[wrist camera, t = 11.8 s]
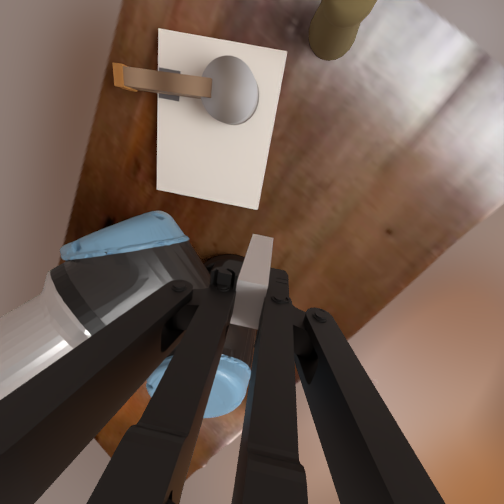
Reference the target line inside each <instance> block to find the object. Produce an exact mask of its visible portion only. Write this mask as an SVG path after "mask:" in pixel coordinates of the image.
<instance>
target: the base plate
mask: <svg viewBox="0 0 504 504" xmlns="http://www.w3.org/2000/svg"><path fill="white" fill-rule="evenodd" d="M226 55H228V56H234V57H237V58H239V59H241V60H242V61H244V62H245V63H246V64H247V65H248V67H249V68H250V69H251V71H252V73H253V75H254V78H255V80H256V82H257V85H258V88H259V102H258V106H257V109H256V111H255V113H254V114H253V116H252V117H251V118H250V119H249V120H248V121H246V122H245V123H242V124H239V125H229V124H226V123H223V122H220V121H218V120H216V119H214V118H213V117H212V116H211V115H210V114H209V113H208V112H207V111H206V109H205V107H204V105H203V103H202V100H201V99H197V98H190V97H183V96H176V95H168V94H161V93H158V114H157V190H162V191H167V192H172V193H177V194H181V195H186V196H191V197H196V198H201V199H206V200H211V201H216V202H221V203H226V204H231V205H235V206H240V207H245V208H250V209H255V210H257V209H258V206H259V200H260V195H261V190H262V184H263V179H264V174H265V168H266V163H267V158H268V153H269V147H270V142H271V137H272V131H273V126H274V121H275V115H276V110H277V105H278V99H279V94H280V89H281V84H282V78H283V73H284V68H285V62H286V57H287V51H282V50H277V49H271V48H266V47H260V46H254V45H249V44H243V43H238V42H232V41H227V40H221V39H215V38H210V37H204V36H199V35H193V34H187V33H182V32H176V31H171V30H165V29H160V28H158V71H163V72H170V73H178V74H185V75H193V76H200V77H202V74H203V72H204V70H205V68H206V67H207V66H208V64H209V63H210V62H211V61H213V60H214V59H216V58H218V57H221V56H226Z"/></svg>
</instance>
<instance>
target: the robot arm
mask: <svg viewBox="0 0 504 504" xmlns="http://www.w3.org/2000/svg"><path fill="white" fill-rule="evenodd" d="M188 240H189V238H188V236H185V235H184V233H183V232H182V231H181V229H180V228H179V226H178V225H177V224H176V222H175V221H174V220H173V218H172V217H171V216H170V215H169V214H167V213H166V212H163V211H151V212H148V213H144V214H141V215H138V216H136V217H133V218H130V219H127V220H125V221H122V222H119V223H117V224H114V225H111V226H109V227H106V228H104V229H101V230H99V231H96V232H94V233H91V234H89V235H87V236H84V237H82V238H80V239H78V240H76V241H74V242H71V243H68V244H66V245H64V246H62V247H61V248H60V253H61V258H62V259H63V260H66V262H64V263H63V264H61V265H59V266H57V267H55V268H54V269H52V270H50V271H48V273H47V276H46V280H45V284H44V288H43V291H42V292H41V294H40V295H38V296H36V297H34V298H33V299H31V300H29V301H28V302H26V303H24V304H23V305H21V306H19V307H17V308H16V309H14V310H12V311H11V312H9V313H7V314H5V315H4V316H2V317H0V504H34V503H35V502H36V501H37V500H38V499H39V498H40V497H41V496H42V494H43V493H44V492H45V491H46V490H47V489H48V488H49V487H50V485H51V484H52V483H53V482H54V481H55V480H56V479H57V478H58V477H59V476H60V475H61V473H62V472H63V471H64V470H65V469H66V468H67V467H68V466H69V465H70V464H71V462H72V461H73V460H74V459H75V458H76V457H77V456H78V455H79V454H80V452H81V451H82V450H83V449H84V448H85V447H86V446H87V445H88V444H89V442H90V441H91V440H92V439H93V438H94V437H95V436H96V435H97V434H98V433H99V431H100V430H101V429H102V428H103V427H104V426H105V425H106V424H107V423H108V421H109V420H110V419H111V418H112V417H113V416H114V415H115V414H116V413H117V411H118V410H119V409H120V408H121V407H122V406H123V405H124V404H125V403H126V402H127V400H128V399H129V398H130V397H131V396H132V395H133V394H134V393H135V392H136V390H137V389H138V388H139V387H140V386H141V385H142V384H143V383H144V382H145V381H146V379H147V384H146V387H147V391H148V393H149V395H150V396H151V397H152V398H151V400H150V401H149V403H148V405H147V407H146V409H145V411H144V413H143V415H142V417H141V419H140V420H139V422H138V423H137V424H136V425H133V426H131V427H130V428H129V429H128V430H127V431H126V433H125V435H124V436H123V438H122V440H121V441H120V443H119V445H118V447H117V449H116V451H115V452H114V454H113V456H112V458H111V460H110V462H109V464H108V465H107V467H106V469H105V471H104V473H103V474H102V476H101V478H100V480H99V482H98V484H97V486H96V487H95V489H94V491H93V493H92V495H91V496H90V498H89V500H88V502H87V504H179V502H180V498H181V494H182V490H183V486H184V482H185V479H186V475H187V472H188V468H189V465H190V461H191V458H192V455H193V451H194V448H195V444H196V441H197V437H198V434H199V430H200V427H201V424H202V420H203V418H212V417H218V416H221V415H225V414H227V413H229V412H231V411H233V410H234V409H235V408H237V407H238V406H239V405H240V403H241V402H242V400H243V398H244V396H245V394H246V390H247V386H248V382H249V379H250V382H249V389H248V396H247V403H246V410H245V416H244V423H243V430H242V438H241V443H240V451H239V457H238V464H237V472H236V477H235V485H234V491H233V497H232V503H231V504H308V496H307V482H306V474H305V470H304V467H303V466H302V465H301V464H300V462H299V454H298V433H297V412H296V410H297V409H296V387H295V364H296V368H297V371H298V374H299V377H300V380H301V383H302V386H303V389H304V392H305V395H306V398H307V402H308V405H309V408H310V411H311V414H312V417H313V420H314V423H315V426H316V430H317V433H318V436H319V439H320V442H321V445H322V448H323V451H324V454H325V457H326V461H327V464H328V467H329V470H330V473H331V476H332V479H333V482H334V485H335V489H336V492H337V494H338V498H339V501H340V504H445V502H444V501H443V499H442V497H441V496H440V494H439V492H438V491H437V489H436V487H435V486H434V484H433V482H432V481H431V479H430V477H429V476H428V474H427V472H426V471H425V469H424V467H423V466H422V464H421V462H420V461H419V459H418V458H417V456H416V454H415V453H414V451H413V449H412V448H411V446H410V444H409V443H408V441H407V439H406V438H405V436H404V434H403V433H402V431H401V429H400V428H399V426H398V425H397V423H396V421H395V419H394V418H393V416H392V414H391V413H390V411H389V409H388V408H387V406H386V404H385V403H384V401H383V399H382V398H381V396H380V395H379V393H378V391H377V390H376V388H375V386H374V385H373V383H372V381H371V380H370V378H369V376H368V375H367V373H366V371H365V370H364V368H363V366H362V365H361V363H360V361H359V360H358V358H357V356H356V355H355V353H354V351H353V350H352V348H351V346H350V345H349V343H348V342H347V340H346V338H345V337H344V335H343V333H342V332H341V330H340V328H339V327H338V325H337V323H336V322H335V320H334V318H333V317H332V316H331V315H330V314H329V313H328V312H326V311H325V310H322V309H320V308H310V309H308V310H307V311H306V312H304V311H302V310H299V309H298V308H296V307H294V306H293V305H292V301H291V299H290V298H289V285H288V274H287V273H286V272H285V271H284V270H279V269H274V268H270V265H271V256H272V247H273V238H271V237H266V236H261V235H256V234H253V236H252V239H251V241H250V244H249V247H248V250H247V253H246V256H245V257H242V256H238V255H220V256H216V257H214V258H211V259H210V260H208V261H207V262H205V263H204V264H203V263H202V261H201V260H200V258H199V256H198V255H197V253H196V252H195V250H194V249H193V247H192V246H191V244H190V242H189V241H188ZM256 329H258V331H257V335H256V340H255V334H256ZM254 341H255V344H254ZM253 348H254V355H253ZM252 355H253V362H252ZM294 361H295V364H294ZM251 362H252V369H251ZM250 369H251V371H250Z"/></svg>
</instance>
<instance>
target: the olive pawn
mask: <svg viewBox="0 0 504 504" xmlns="http://www.w3.org/2000/svg"><path fill="white" fill-rule="evenodd" d="M376 2H377V0H322V2H321V4H320V6H319V7H318V9H317V11H316V13H315V15H314V17H313V19H312V20H311V23H310V27H309V43H310V46H311V49H312V50H313V52H314V53H315V55H316V56H318V57H319V58H321V59H323V60H328V61H329V60H336V59H338V58H340V57H342V56H343V55H344V54H345V53H346V52H347V51H348V50H349V49H350V48H351V46H352V44H353V43H354V41H355V38H356V35H357V32H358V29H359V26H360V23H361V21H362V20H363V19H364V18H365V17H366V16H367V15H368V14H369V13H370V12H371V10H372V8H373V7H374V5H375V3H376Z"/></svg>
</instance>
